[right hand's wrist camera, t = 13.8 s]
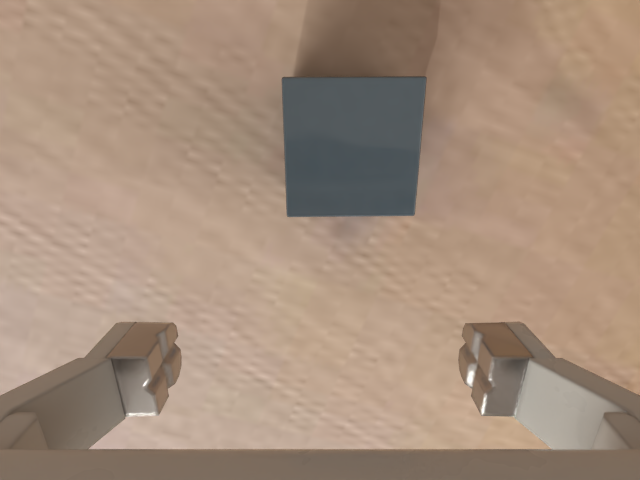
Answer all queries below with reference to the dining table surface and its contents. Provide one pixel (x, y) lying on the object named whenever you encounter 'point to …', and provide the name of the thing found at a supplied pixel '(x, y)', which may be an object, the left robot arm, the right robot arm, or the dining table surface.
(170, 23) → the dining table surface
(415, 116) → the blue-gray cube
